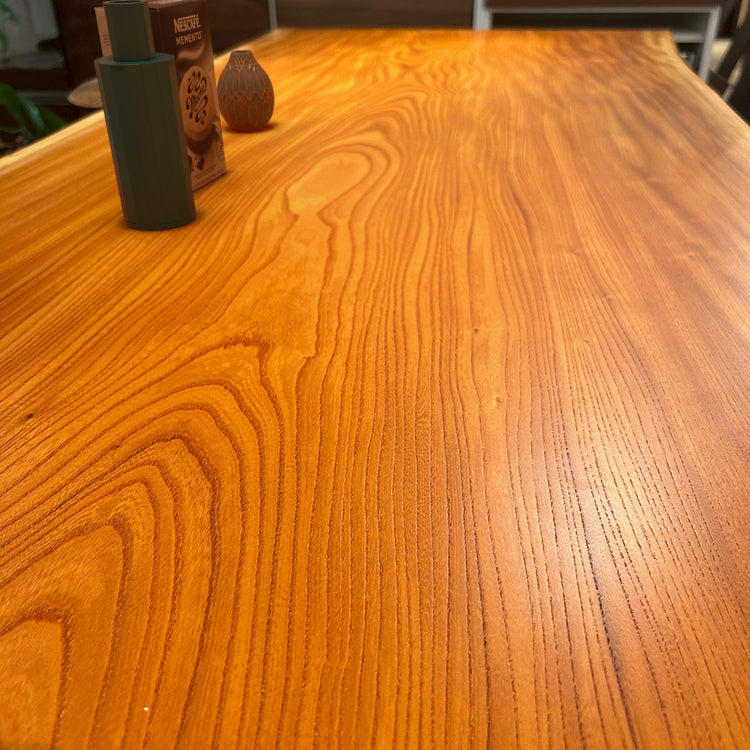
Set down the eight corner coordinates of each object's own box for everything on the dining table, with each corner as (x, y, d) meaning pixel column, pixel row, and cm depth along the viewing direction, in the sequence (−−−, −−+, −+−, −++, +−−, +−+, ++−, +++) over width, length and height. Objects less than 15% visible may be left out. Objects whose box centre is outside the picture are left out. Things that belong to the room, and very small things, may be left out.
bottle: (112, 228, 65) (68, 5, 56) (143, 205, 70) (107, -3, 61) (179, 232, 64) (144, 5, 55) (206, 208, 69) (178, -3, 60)
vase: (232, 137, 91) (223, 57, 87) (212, 125, 97) (203, 50, 92) (285, 129, 94) (280, 52, 90) (263, 118, 100) (257, 45, 95)
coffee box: (185, 199, 71) (157, 6, 63) (125, 194, 73) (89, 6, 65) (229, 171, 79) (209, -4, 71) (173, 167, 81) (147, -4, 72)
